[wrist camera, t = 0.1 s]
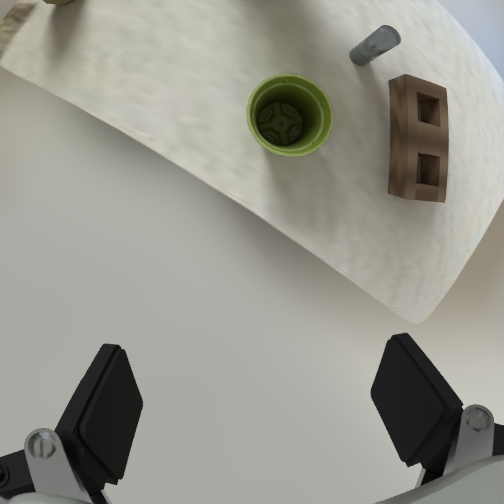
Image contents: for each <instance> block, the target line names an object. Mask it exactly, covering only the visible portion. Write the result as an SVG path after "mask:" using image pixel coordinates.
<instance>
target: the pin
mask: <svg viewBox="0 0 504 504" xmlns="http://www.w3.org/2000/svg"><path fill="white" fill-rule="evenodd" d="M400 41H401V39H400V35H399V33H398V32H397V31H396V30H395V29H394V28H393V27H391V26H388V25H383V26H381V27H380V28H378V29H377V30H376V31H375V32H373V33H372V34H371V35H370V36H368V37H367V38H366V39H365V40H363V41H362V42H361V43H360V44H358V45H357V46H356V47H355V48H354V49H352V50H351V51H350V58H351V60H352V61H353V62H354V63H355V64H357V65H359V66H363V65H366V64H367V63H369V62H370V61H372V60H374V59H375V58H377V57H378V56H380V55H382V54H383V53H385V52H387V51H388V50H390V49H392V48H393V47H395V46H397V45H399V44H400Z"/></svg>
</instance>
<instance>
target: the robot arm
mask: <svg viewBox="0 0 504 504" xmlns="http://www.w3.org/2000/svg"><path fill="white" fill-rule="evenodd" d="M371 398H372V400H373V402H374V404H375V406H376V408H377V410H378V412H379V414H380V416H381V419H382V420H383V422H384V425H385V427H386V429H387V431H388V433H389V435H390V438H391V439H392V442H393V444H394V446H395V448H396V451H397V452H398V455H399V457H400V459H401V461H403V462H405V463H406V465H407V467H410V466H413V465H415V464H417V463H421V465H422V470H421V473H420V475H419V478H418V481H417V484H416V486H415V489H412V490H410V491H407V492H405V493H402V494H400V495H397V496H394V497H392V498H389V499H386V500H383V501H380V502H377V503H374V504H504V425H500V424H496V423H494V418H493V415H492V413H491V412H490V411H489V410H488V409H487V408H486V407H484V406H481V405H476V404H475V405H470V406H468V407H467V408H465V410H463V408H462V406H463V403H462V402H461V400H460V399H459V397H458V396H457V395H456V393H455V392H454V391H453V389H452V388H451V387H450V385H449V384H448V383H447V381H446V380H445V379H444V377H443V376H442V375H441V374H440V372H439V371H438V370H437V368H436V367H435V366H434V365H433V363H432V362H431V361H430V360H429V359H428V357H427V356H426V355H425V353H424V352H423V351H422V350H421V348H420V347H419V346H418V345H417V344H416V342H415V341H414V340H413V339H412V338H411V336H410V335H409V334H408V333H402V334H396V335H393V336H392V337H391V339H390V340H388V341H387V343H386V347H385V350H384V353H383V356H382V359H381V362H380V365H379V368H378V371H377V374H376V377H375V380H374V383H373V385H372V388H371ZM142 407H143V400H142V397H141V395H140V392H139V389H138V387H137V384H136V381H135V378H134V376H133V372H132V370H131V367H130V364H129V361H128V358H127V354H126V352H125V350H124V349H121V347H120V346H119V345H115V344H103V345H102V347H101V348H100V350H99V352H98V353H97V355H96V357H95V358H94V360H93V362H92V363H91V365H90V367H89V368H88V370H87V372H86V374H85V375H84V377H83V378H82V380H81V381H80V383H79V385H78V387H77V389H76V390H75V392H74V394H73V396H72V398H71V400H70V401H69V403H68V405H67V407H66V409H65V411H64V413H63V415H62V417H61V419H60V421H59V423H58V425H57V427H56V429H55V431H52V430H50V429H47V428H40V429H36V430H34V431H32V432H31V433H30V434H29V435H28V436H27V438H26V439H25V443H24V449H23V450H20V451H17V452H14V453H12V454H9V455H5V456H2V457H0V504H111V502H110V500H109V498H108V497H107V495H106V493H105V491H104V490H103V489H104V486H105V483H110V484H114V485H117V483H118V479H122V478H123V476H124V472H125V468H126V464H127V461H128V457H129V453H130V449H131V445H132V442H133V439H134V435H135V432H136V428H137V424H138V421H139V418H140V414H141V411H142Z"/></svg>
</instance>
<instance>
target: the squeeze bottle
mask: <svg viewBox="0 0 504 504" xmlns="http://www.w3.org/2000/svg"><path fill="white" fill-rule="evenodd" d="M43 1H44V2H45V3H47V4H57V5H65V4H68V3H69V2H71V1H73V0H43Z"/></svg>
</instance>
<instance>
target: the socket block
mask: <svg viewBox="0 0 504 504" xmlns="http://www.w3.org/2000/svg"><path fill="white" fill-rule="evenodd" d="M389 92H390V121H391V142H390V172H389V189H388V194H392V195H395V196H398V197H401V198H404V199H413V200H424V201H434V202H443V203H445V198H446V188H447V174H448V149H449V129H448V104H447V91H446V88H444V87H442V86H439V85H436V84H434V83H431V82H428V81H425V80H423V79H420V78H417V77H413V76H410V75H407V74H404V75H402V76H399V77H397V78H394V79H392V80H389ZM417 101H418V102H421V114H422V122H420V121H418V110H417ZM418 155H422V157H421V177H420V183H419V182H416V179H417V160H418Z"/></svg>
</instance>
